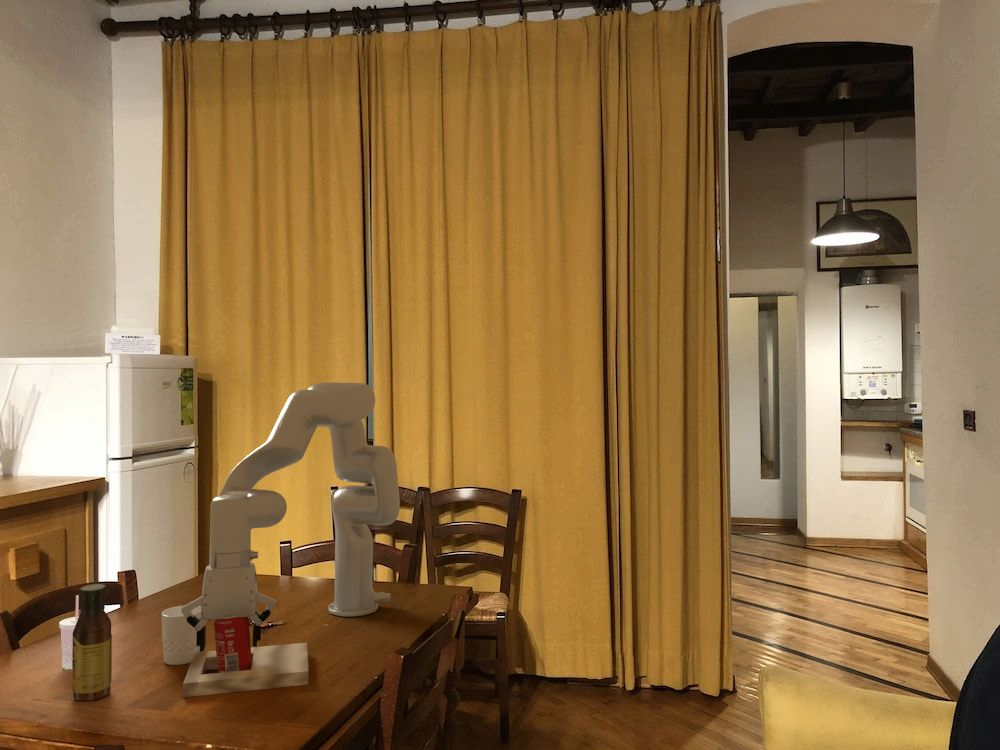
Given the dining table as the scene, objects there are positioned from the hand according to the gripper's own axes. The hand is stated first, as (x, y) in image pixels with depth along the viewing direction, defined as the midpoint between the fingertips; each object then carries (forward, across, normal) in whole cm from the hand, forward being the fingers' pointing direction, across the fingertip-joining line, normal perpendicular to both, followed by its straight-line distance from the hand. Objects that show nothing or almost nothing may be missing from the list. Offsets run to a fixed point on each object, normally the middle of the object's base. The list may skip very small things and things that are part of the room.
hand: (229, 646), depth 138 cm
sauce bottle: (+6, +23, +3) cm, 24 cm away
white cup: (+6, +10, -12) cm, 17 cm away
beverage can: (+6, -1, 0) cm, 6 cm away
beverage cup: (+6, +30, -14) cm, 34 cm away
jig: (+6, -4, 0) cm, 7 cm away
